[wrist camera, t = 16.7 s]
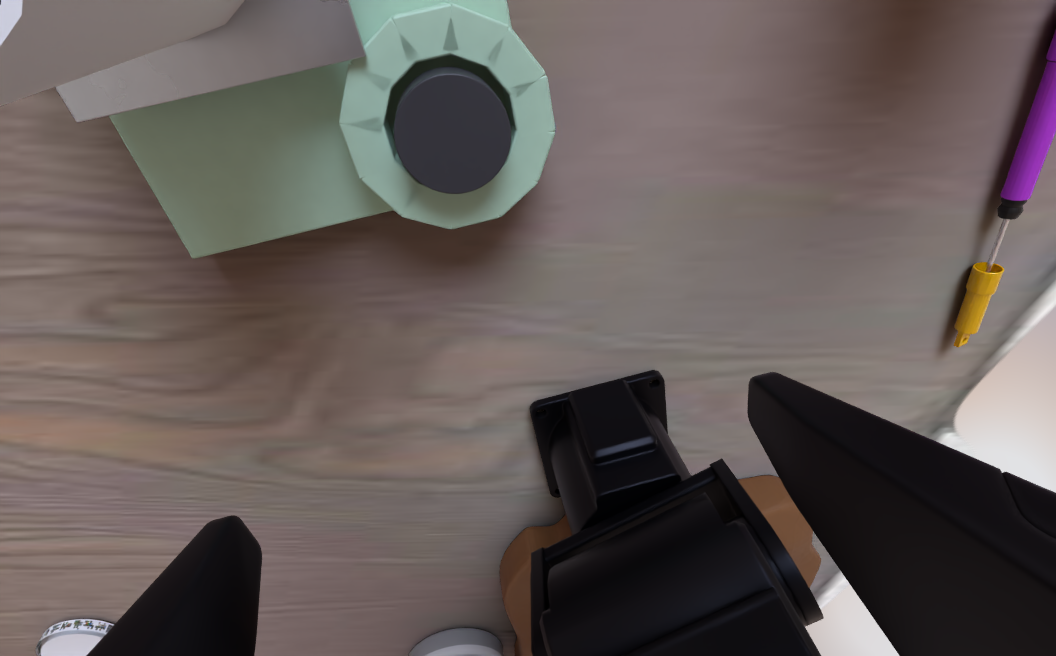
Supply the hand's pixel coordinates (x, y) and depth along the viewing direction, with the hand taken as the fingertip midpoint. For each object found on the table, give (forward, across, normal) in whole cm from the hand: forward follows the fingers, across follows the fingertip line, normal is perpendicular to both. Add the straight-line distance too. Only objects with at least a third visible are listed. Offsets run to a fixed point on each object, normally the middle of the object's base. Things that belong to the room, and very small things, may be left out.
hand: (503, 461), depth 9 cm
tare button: (+10, -1, -3) cm, 11 cm away
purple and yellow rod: (+13, -24, +5) cm, 28 cm away
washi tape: (+13, +25, +18) cm, 34 cm away
